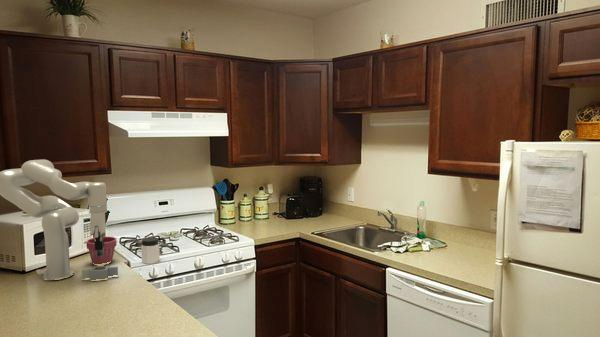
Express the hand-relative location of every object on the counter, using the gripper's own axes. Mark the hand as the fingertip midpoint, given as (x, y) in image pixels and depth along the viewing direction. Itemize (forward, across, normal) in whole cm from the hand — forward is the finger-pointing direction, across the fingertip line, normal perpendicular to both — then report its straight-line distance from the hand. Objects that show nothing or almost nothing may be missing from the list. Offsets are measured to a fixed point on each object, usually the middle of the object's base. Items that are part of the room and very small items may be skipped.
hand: (99, 248), depth 192 cm
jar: (+15, -22, +20) cm, 33 cm away
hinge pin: (+3, 0, 0) cm, 3 cm away
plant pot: (+15, -25, -4) cm, 29 cm away
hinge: (+14, 0, 0) cm, 14 cm away
